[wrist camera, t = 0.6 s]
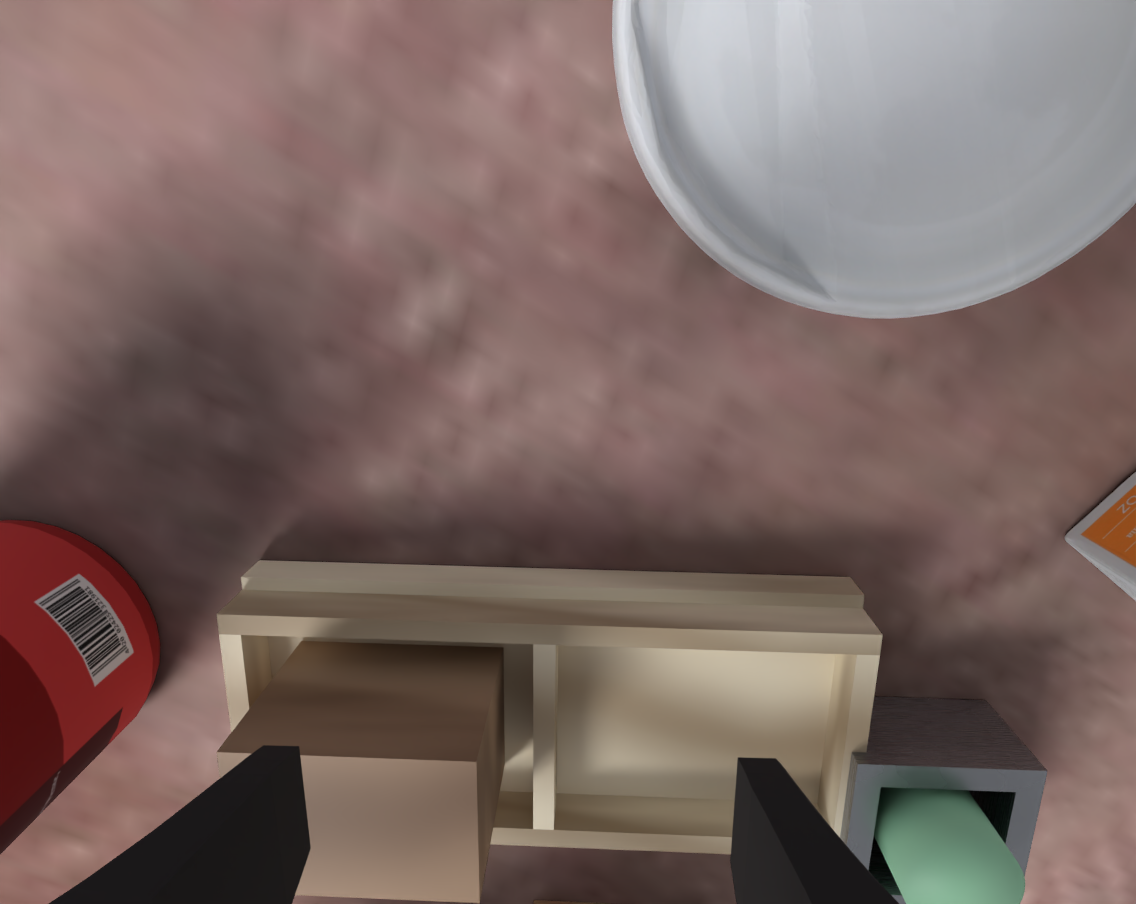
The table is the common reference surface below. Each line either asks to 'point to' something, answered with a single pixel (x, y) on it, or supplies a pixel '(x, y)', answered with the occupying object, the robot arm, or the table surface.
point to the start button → (945, 849)
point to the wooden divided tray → (604, 682)
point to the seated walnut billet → (388, 764)
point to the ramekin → (883, 140)
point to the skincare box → (1111, 536)
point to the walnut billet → (562, 902)
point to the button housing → (942, 772)
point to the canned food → (64, 663)
